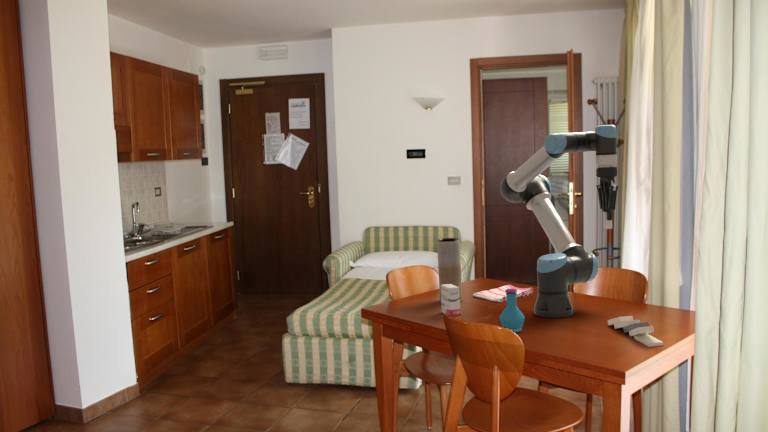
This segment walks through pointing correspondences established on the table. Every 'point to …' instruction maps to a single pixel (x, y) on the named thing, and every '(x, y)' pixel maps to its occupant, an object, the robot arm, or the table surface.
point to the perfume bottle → (512, 312)
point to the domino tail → (648, 340)
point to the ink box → (450, 299)
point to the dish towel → (501, 293)
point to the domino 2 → (635, 326)
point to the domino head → (619, 319)
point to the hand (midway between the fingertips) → (608, 228)
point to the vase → (449, 263)
